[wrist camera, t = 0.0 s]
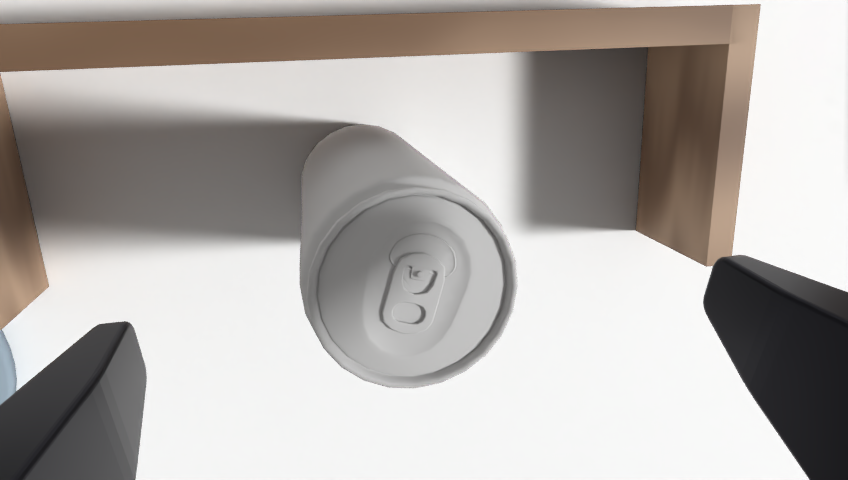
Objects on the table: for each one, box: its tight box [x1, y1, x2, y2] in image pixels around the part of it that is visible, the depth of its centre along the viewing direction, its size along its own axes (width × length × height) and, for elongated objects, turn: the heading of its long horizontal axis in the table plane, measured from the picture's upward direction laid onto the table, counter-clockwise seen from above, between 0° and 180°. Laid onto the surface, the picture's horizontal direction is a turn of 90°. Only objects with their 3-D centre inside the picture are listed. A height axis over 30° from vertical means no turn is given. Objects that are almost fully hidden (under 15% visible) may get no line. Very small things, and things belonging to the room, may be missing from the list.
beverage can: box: [300, 124, 517, 388], centre depth 19 cm, size 5×5×12 cm
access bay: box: [0, 4, 761, 330], centre depth 21 cm, size 9×26×5 cm, turn 92°
